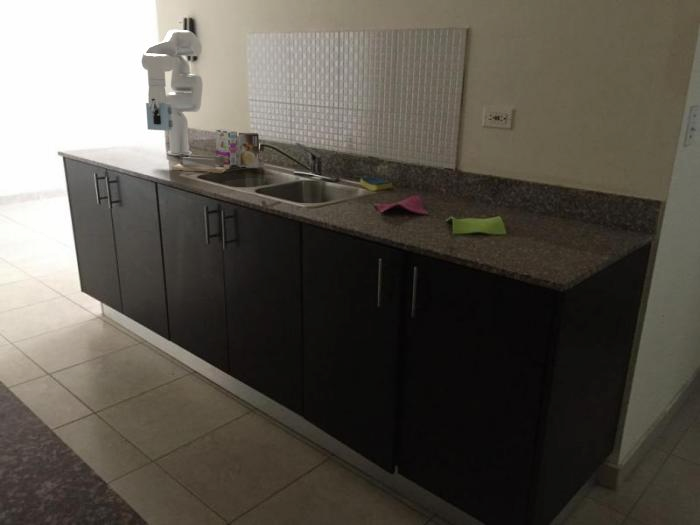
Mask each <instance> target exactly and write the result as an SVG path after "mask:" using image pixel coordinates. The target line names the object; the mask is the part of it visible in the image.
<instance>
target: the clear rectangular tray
mask: <svg viewBox="0 0 700 525" xmlns="http://www.w3.org/2000/svg"><path fill="white" fill-rule="evenodd" d="M230 167H231V168H232V166H231V165H229V164H224V156H220V157H218V156H216V155H201V154H200V155H199V154H198V155H197V154H191V155H187V157H186V156H184V154H183V153H180V156H179V163H178V164H175V165H173V166H171V170H172V171H179V170H183V171H182V172H194V171H208V172H207V173H210V172H212V174H222V173H224V172H226V171H228V170H229V169H231V168H230ZM227 169H228V170H227Z"/></svg>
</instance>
